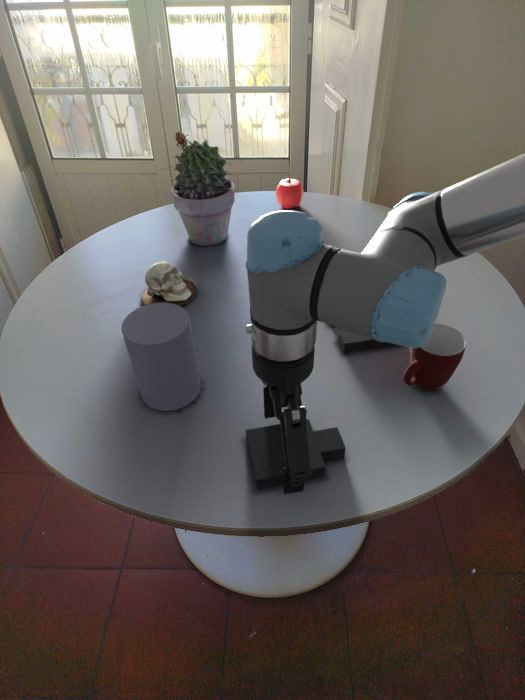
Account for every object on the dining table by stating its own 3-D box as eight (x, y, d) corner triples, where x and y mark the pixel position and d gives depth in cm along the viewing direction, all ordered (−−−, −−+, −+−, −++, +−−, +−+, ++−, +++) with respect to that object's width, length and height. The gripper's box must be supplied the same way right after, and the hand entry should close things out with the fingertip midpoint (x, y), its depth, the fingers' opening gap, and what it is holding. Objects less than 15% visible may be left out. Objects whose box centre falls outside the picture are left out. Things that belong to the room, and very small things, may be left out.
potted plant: (234, 259, 114) (226, 154, 97) (162, 249, 118) (142, 147, 102) (258, 225, 126) (253, 127, 110) (191, 217, 131) (178, 122, 114)
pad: (349, 472, 68) (351, 462, 67) (256, 489, 67) (256, 480, 65) (331, 424, 75) (332, 414, 73) (246, 439, 73) (245, 429, 72)
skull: (211, 284, 104) (185, 269, 95) (190, 326, 104) (162, 315, 95) (172, 266, 109) (144, 250, 100) (153, 306, 109) (123, 294, 100)
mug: (425, 416, 76) (439, 372, 69) (384, 389, 80) (393, 346, 73) (460, 383, 81) (476, 339, 74) (420, 360, 85) (431, 316, 78)
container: (213, 389, 82) (202, 322, 71) (163, 422, 76) (145, 354, 66) (178, 361, 87) (164, 294, 77) (130, 389, 82) (108, 323, 72)
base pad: (404, 344, 89) (406, 334, 87) (343, 354, 87) (344, 344, 85) (380, 307, 97) (382, 297, 96) (325, 315, 96) (325, 305, 94)
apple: (306, 209, 132) (306, 182, 127) (278, 212, 131) (277, 184, 126) (300, 198, 138) (301, 171, 133) (273, 200, 137) (273, 173, 132)
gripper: (235, 288, 64) (243, 393, 78) (274, 431, 46) (275, 534, 60) (289, 281, 65) (287, 386, 79) (347, 418, 47) (331, 523, 61)
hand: (282, 450), depth 70 cm, fingers open, 13 cm apart
